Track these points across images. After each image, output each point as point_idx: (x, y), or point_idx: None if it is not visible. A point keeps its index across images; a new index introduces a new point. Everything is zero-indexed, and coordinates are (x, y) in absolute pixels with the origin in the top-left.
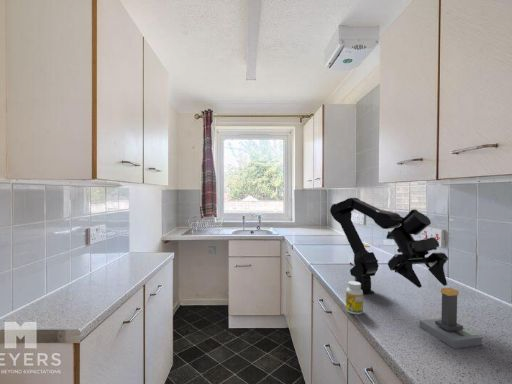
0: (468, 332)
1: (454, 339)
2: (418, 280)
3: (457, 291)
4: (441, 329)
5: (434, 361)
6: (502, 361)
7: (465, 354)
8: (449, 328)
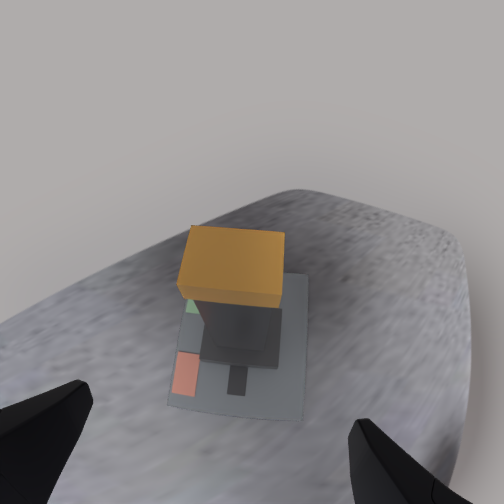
0: None
1: (300, 278)
2: (382, 450)
3: (202, 228)
4: (282, 339)
5: (399, 259)
6: (234, 217)
7: (298, 258)
8: (275, 309)
